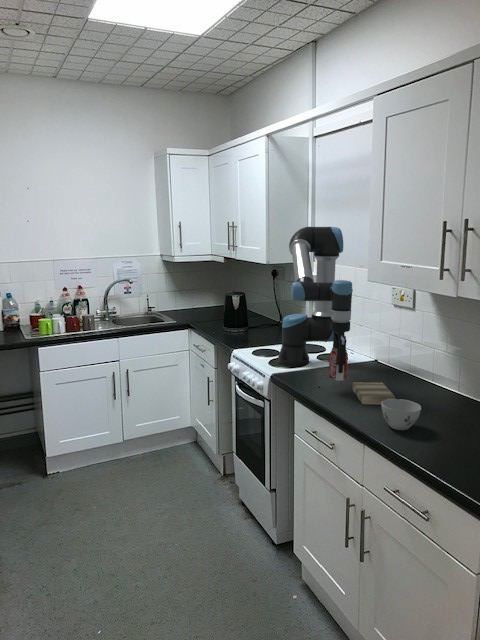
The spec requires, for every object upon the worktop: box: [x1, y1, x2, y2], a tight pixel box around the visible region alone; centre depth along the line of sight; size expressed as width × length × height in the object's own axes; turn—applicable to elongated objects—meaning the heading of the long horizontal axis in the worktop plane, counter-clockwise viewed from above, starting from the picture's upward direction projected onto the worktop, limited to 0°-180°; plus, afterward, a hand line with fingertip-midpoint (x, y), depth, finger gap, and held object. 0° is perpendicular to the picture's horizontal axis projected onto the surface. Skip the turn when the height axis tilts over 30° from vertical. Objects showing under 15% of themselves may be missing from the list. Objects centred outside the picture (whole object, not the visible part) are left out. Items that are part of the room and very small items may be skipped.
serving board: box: [352, 381, 396, 405], centre depth 195 cm, size 17×12×3 cm
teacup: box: [380, 398, 422, 431], centre depth 166 cm, size 15×12×8 cm
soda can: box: [328, 347, 349, 381], centre depth 198 cm, size 7×7×12 cm
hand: (337, 377), depth 199 cm, fingers closed on soda can, 7 cm apart
